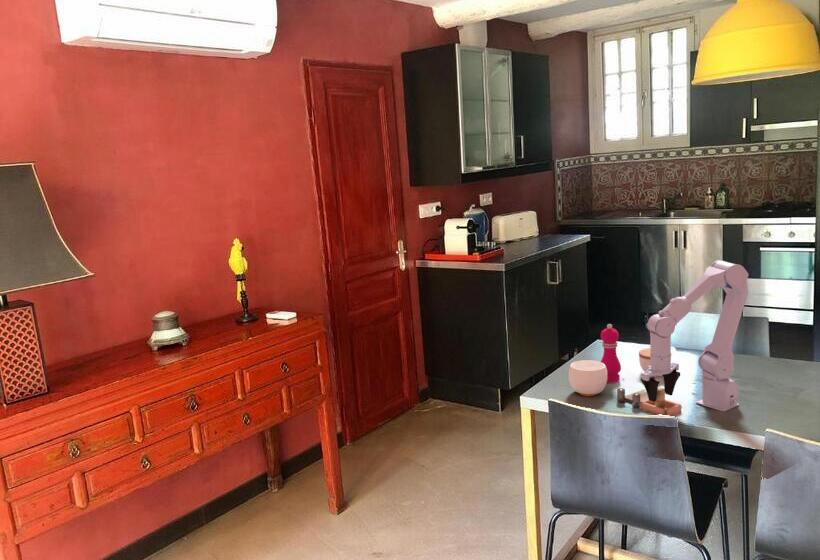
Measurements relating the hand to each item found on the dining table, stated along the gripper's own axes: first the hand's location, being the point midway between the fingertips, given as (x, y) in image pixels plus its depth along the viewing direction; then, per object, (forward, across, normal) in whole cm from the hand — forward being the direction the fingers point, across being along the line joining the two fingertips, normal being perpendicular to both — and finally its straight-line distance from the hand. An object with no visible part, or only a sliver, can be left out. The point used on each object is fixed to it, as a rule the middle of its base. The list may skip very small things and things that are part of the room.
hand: (660, 397), depth 205 cm
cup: (+4, +5, -24) cm, 25 cm away
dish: (+4, 0, 0) cm, 4 cm away
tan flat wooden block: (+5, -3, -10) cm, 11 cm away
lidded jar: (+4, -26, -22) cm, 35 cm away
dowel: (+3, 0, 0) cm, 4 cm away
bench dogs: (+4, +3, -10) cm, 11 cm away
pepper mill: (+4, -10, -28) cm, 30 cm away
